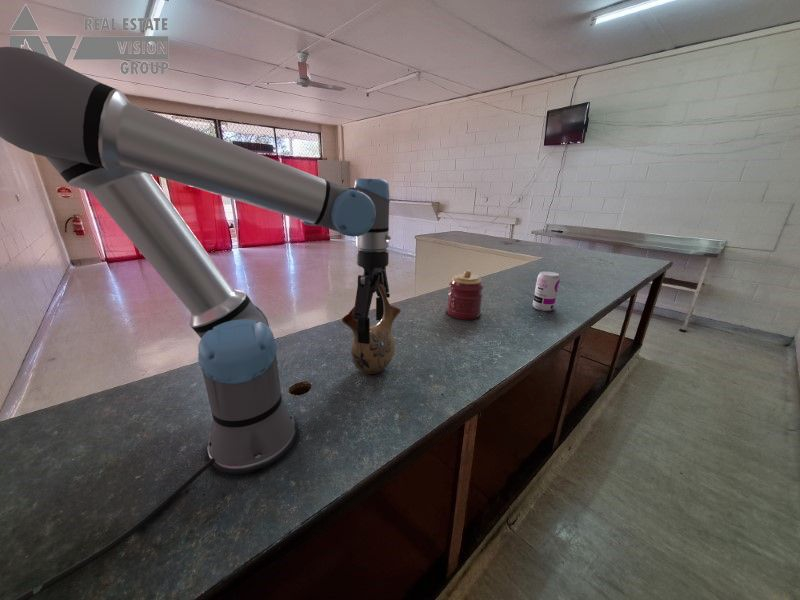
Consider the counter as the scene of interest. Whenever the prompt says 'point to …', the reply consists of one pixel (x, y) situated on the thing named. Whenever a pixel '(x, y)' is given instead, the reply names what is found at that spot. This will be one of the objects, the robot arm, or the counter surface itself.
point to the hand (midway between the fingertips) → (373, 330)
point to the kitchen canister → (465, 296)
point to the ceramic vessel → (374, 340)
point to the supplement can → (546, 290)
